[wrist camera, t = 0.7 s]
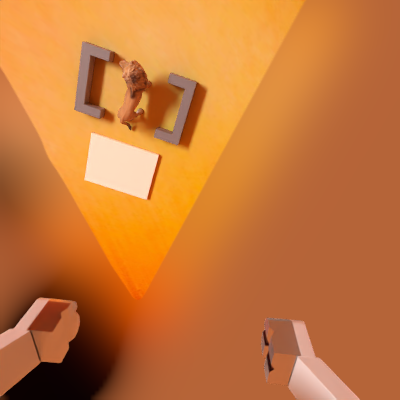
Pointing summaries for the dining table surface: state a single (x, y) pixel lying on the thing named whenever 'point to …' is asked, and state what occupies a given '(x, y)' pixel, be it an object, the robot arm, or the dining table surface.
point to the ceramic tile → (120, 166)
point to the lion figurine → (132, 90)
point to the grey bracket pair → (84, 106)
